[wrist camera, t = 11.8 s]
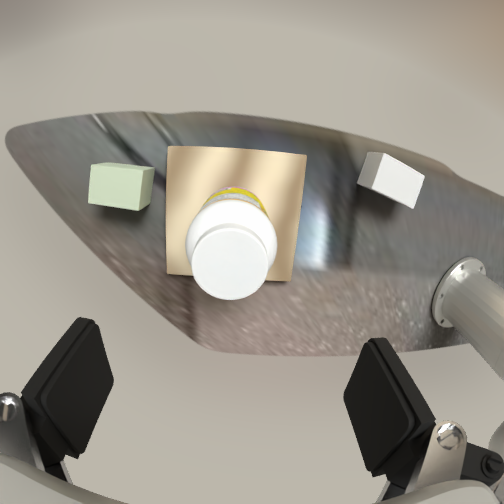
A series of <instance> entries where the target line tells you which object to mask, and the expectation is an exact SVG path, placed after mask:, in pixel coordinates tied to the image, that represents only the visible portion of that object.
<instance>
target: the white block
mask: <svg viewBox="0 0 504 504" xmlns="http://www.w3.org/2000/svg"><path fill="white" fill-rule="evenodd" d="M424 177H425V176H424V175H422V174H421V173H419V172H417V171H415V170H414V169H412V168H410V167H409V166H407V165H405V164H403V163H402V162H400V161H398V160H396V159H394V158H393V157H391V156H389V155H387V154H385V153H379V152H368V153H367V156H366V159H365V162H364V165H363V168H362V170H361V173H360V176H359V179H358V182H357V184H359V185H361V186H364V187H366V188H368V189H370V190H373V191H375V192H377V193H379V194H381V195H383V196H385V197H388V198H390V199H392V200H394V201H396V202H398V203H401V204H403V205H405V206H408V207H410V208H414V206H415V203H416V200H417V197H418V195H419V192H420V189H421V186H422V183H423V180H424Z"/></svg>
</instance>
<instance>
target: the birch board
mask: <svg viewBox="0 0 504 504" xmlns="http://www.w3.org/2000/svg"><path fill="white" fill-rule="evenodd" d="M306 158H307V155H300V154H292V153H283V152H274V151H263V150H252V149H238V148H222V147H196V146H168V157H167V182H166V256H167V274H178V275H191V276H193V273H192V268H191V265H190V264H189V261H188V258H187V255H186V249H185V241H186V235H187V231H188V229H189V226H190V224H191V223H192V221H193V219H194V218H195V216H196V215H197V214H198V212H199V211H200V209H201V208H202V206H203V205H204V203H205V202H206V200H207V199H208V198H209V197H210V196H211V195H212V194H213V193H215V192H216V191H218V190H220V189H223V188H226V187H241V188H244V189H247V190H249V191H251V192H252V193H254V194H255V195H256V196H257V197H258V198H259V199H260V201H261V202H262V204H263V206H264V208H265V210H266V212H267V214H268V216H269V219H270V221H271V223H272V225H273V227H274V230H275V233H276V237H277V253H276V257H275V260H274V262H273V265H272V266H271V268H270V269H269V271H268V273H267V276H266V279H265V280H272V281H291V274H292V268H293V261H294V254H295V247H296V240H297V233H298V225H299V218H300V210H301V202H302V194H303V185H304V177H305V168H306Z"/></svg>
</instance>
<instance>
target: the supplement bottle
mask: <svg viewBox="0 0 504 504" xmlns="http://www.w3.org/2000/svg"><path fill="white" fill-rule="evenodd" d="M185 249H186V255H187V258H188V261H189V264H190V265H191V268H192V273H193V276H194V278H195V280H196V282H197V284H198V285H199V286H200V287H201V288H202V289H203V290H204V291H205V292H206V293H208V294H210V295H211V296H213V297H216V298H219V299H224V300H237V299H242V298H245V297H247V296H249V295H251V294H253V293H254V292H255V291H257V290H258V289H259V288H260V286H261V285H262V284H263V282H264V281H265V279H266V276H267V273H268V271H269V269H270V268H271V266H272V265H273V262H274V260H275V257H276V253H277V237H276V233H275V230H274V227H273V225H272V223H271V221H270V219H269V216H268V214H267V212H266V210H265V208H264V206H263V204H262V202H261V201H260V199H259V198H258V197H257V196H256V195H255V194H254V193H252V192H251V191H249V190H247V189H244V188H241V187H226V188H223V189H220V190H218V191H216V192H215V193H213V194H212V195H211V196H210V197H209V198H208V199H207V200H206V202H205V203H204V205H203V206H202V208H201V209H200V211H199V212H198V214H197V215H196V216H195V218H194V219H193V221H192V223H191V224H190V226H189V229H188V231H187V235H186V241H185Z"/></svg>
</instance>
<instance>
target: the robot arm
mask: <svg viewBox="0 0 504 504" xmlns="http://www.w3.org/2000/svg"><path fill="white" fill-rule="evenodd" d="M432 314H433V317H434V319H435V321H436V322H437V323H438V324H439V325H440V326H442V327H446V328H448V327H453V326H454V327H455V328H456V329H457V330H458V331H459V332H460V333H461V334H462V335H463V337H464V338H465V339H466V340H467V341H468V342H469V343H470V344H471V345H472V346H473V347H474V348H475V350H476V351H477V352H478V353H479V354H480V355H481V356H482V357H483V358H484V360H485V361H486V362H487V363H488V364H489V365H490V366H491V367H492V369H493V370H494V371H495V372H496V373H497V375H498V376H499V377H500V378H501V379H502V380H504V289H503V288H502V287H500V286H499V285H497V284H496V283H495V282H493V281H492V280H490V279H489V278H488V277H486V272H485V268H484V265H483V264H482V262H480V261H479V260H478V259H476V258H474V257H467V258H464V259H462V260H460V261H458V262H457V263H455V264H454V265H453V266H452V267H451V268H450V269H449V270H448V272H447V273H446V274H445V275H444V277H443V278H442V280H441V282H440V284H439V285H438V287H437V290H436V292H435V295H434V299H433V304H432ZM113 382H114V379H113V375H112V372H111V369H110V365H109V362H108V358H107V355H106V352H105V348H104V344H103V341H102V337H101V333H100V329H99V326H98V325H97V324H95V322H94V320H92V319H87V318H81V317H79V318H77V319H76V320H75V321H74V323H73V324H72V325H71V326H70V328H69V329H68V330H67V331H66V333H65V334H64V335H63V336H62V337H61V339H60V340H59V341H58V342H57V344H56V345H55V346H54V348H53V349H52V350H51V352H50V353H49V354H48V355H47V357H46V358H45V360H44V361H43V362H42V364H41V365H40V366H39V368H38V369H37V371H36V372H35V373H34V374H33V376H32V377H31V379H30V380H29V382H28V383H27V384H26V386H25V388H24V389H23V390H22V392H21V393H22V396H21V398H19V396H17V395H16V394H13V393H10V392H7V393H2V394H0V504H127V503H124V502H120V501H117V500H114V499H110V498H107V497H104V496H102V495H98V494H96V493H93V492H90V491H88V490H85V489H83V488H80V487H77V486H75V485H73V483H72V480H71V478H70V476H69V473H68V471H67V468H66V466H65V463H64V460H63V459H64V457H65V454H66V455H68V456H71V457H74V458H76V459H78V457H79V455H80V454H82V453H84V452H85V449H86V447H87V444H88V442H89V439H90V437H91V435H92V432H93V430H94V427H95V425H96V423H97V420H98V418H99V415H100V413H101V411H102V408H103V406H104V404H105V402H106V400H107V397H108V395H109V393H110V391H111V389H112V386H113ZM344 402H345V405H346V408H347V411H348V414H349V417H350V420H351V423H352V426H353V429H354V432H355V435H356V438H357V441H358V444H359V447H360V450H361V453H362V457H363V460H364V463H365V466H366V469H367V470H368V471H371V473H372V476H373V477H376V476H380V475H383V474H386V477H387V482H386V484H385V486H384V488H383V490H382V492H381V494H380V496H379V497H378V500H377V501H376V503H374V504H504V422H503V423H502V424H501V425H500V426H499V427H498V428H497V430H496V431H495V432H494V434H493V435H492V437H491V439H490V442H489V450H488V449H485V448H482V447H479V446H476V445H474V444H471V443H468V442H467V436H466V432H465V431H464V429H463V428H462V427H461V426H460V425H459V424H458V423H456V422H453V421H448V420H447V421H442V422H440V423H438V424H437V425H436V423H435V422H434V421H435V420H436V418H435V417H434V415H433V414H432V412H431V410H430V408H429V406H428V404H427V403H426V401H425V399H424V398H423V396H422V394H421V393H420V391H419V389H418V388H417V386H416V384H415V383H414V381H413V379H412V378H411V376H410V375H409V373H408V371H407V370H406V368H405V366H404V365H403V364H402V362H401V360H400V359H399V357H398V355H397V354H396V352H395V351H394V349H393V348H392V346H391V345H390V343H389V342H388V340H387V339H386V338H371V339H369V340H368V342H367V343H365V344H364V345H363V348H362V350H361V353H360V356H359V358H358V361H357V363H356V366H355V368H354V371H353V373H352V376H351V378H350V380H349V382H348V385H347V387H346V389H345V391H344Z"/></svg>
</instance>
